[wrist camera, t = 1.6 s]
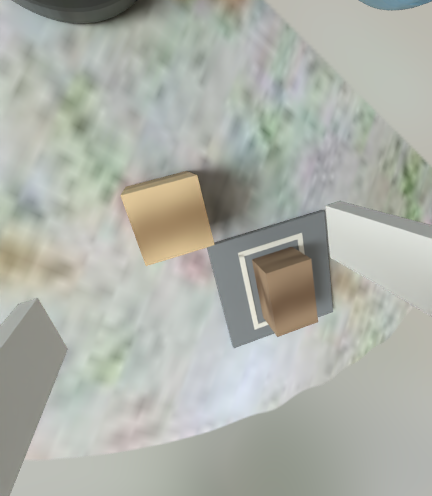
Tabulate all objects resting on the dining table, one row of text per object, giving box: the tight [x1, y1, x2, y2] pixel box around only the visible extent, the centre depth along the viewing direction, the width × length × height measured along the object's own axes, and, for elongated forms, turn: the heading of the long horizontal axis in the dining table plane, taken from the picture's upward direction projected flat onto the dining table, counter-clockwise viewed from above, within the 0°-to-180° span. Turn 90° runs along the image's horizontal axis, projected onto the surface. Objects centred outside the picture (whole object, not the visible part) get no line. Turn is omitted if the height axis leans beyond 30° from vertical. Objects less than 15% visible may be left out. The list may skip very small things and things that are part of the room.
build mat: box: [207, 210, 333, 348], centre depth 33 cm, size 14×14×1 cm
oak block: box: [121, 171, 214, 266], centre depth 25 cm, size 6×6×6 cm
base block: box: [252, 247, 318, 337], centre depth 31 cm, size 8×5×4 cm, turn 13°
